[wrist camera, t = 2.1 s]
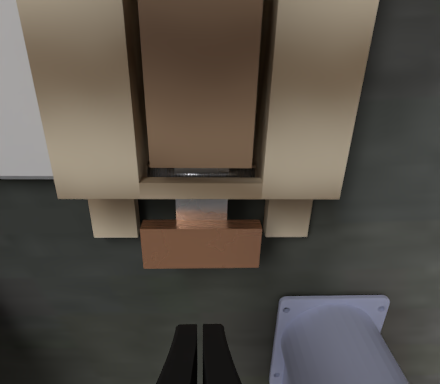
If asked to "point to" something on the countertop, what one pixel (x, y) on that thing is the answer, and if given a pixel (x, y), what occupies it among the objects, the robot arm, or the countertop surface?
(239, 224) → the lever
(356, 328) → the robot arm
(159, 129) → the walnut block
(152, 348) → the countertop surface
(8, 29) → the grey pad
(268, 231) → the pocket board
